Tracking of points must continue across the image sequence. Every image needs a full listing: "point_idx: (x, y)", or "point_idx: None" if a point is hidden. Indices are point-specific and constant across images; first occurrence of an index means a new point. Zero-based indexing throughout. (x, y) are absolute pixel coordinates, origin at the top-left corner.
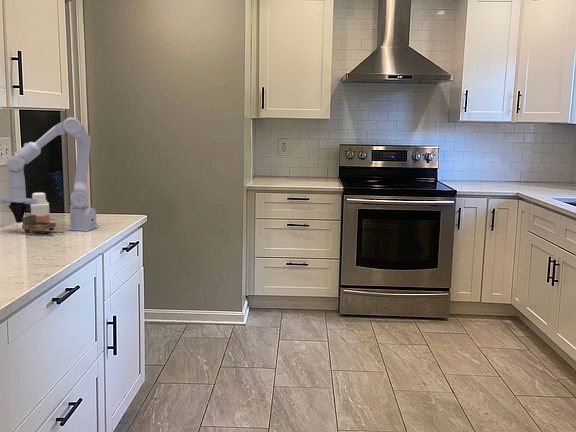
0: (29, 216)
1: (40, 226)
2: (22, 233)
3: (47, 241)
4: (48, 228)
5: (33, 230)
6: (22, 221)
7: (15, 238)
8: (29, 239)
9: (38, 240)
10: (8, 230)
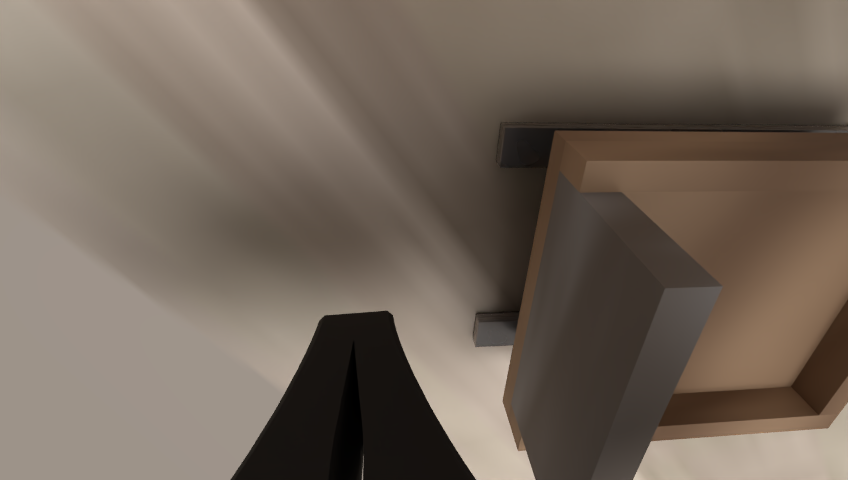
0: (641, 458)
1: (794, 428)
2: (481, 345)
3: (815, 456)
4: (844, 304)
5: (522, 166)
6: (393, 323)
7: (514, 461)
8: (652, 452)
9: (737, 454)
10: (76, 186)
